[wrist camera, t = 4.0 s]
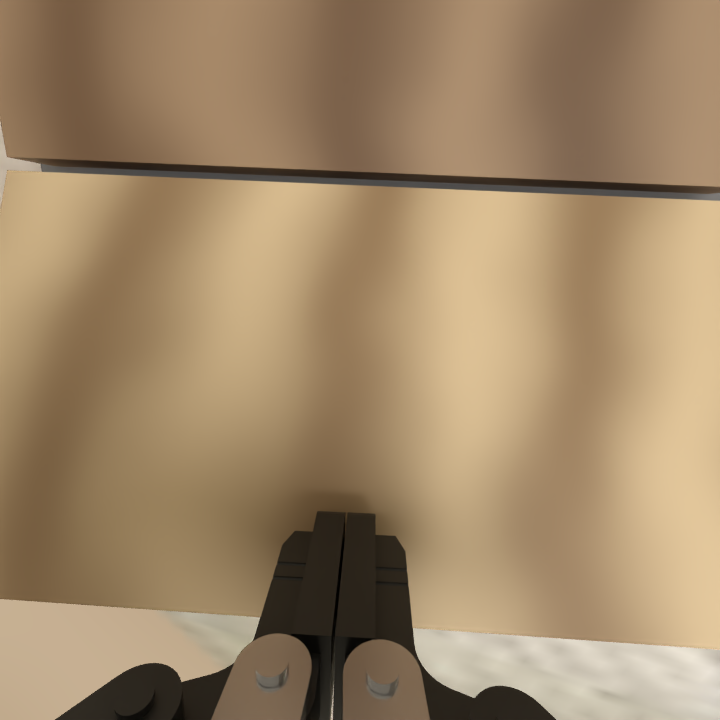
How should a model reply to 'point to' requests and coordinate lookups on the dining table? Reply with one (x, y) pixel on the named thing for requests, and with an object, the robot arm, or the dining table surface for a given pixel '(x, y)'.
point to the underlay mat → (382, 183)
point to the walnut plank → (371, 89)
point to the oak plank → (363, 397)
